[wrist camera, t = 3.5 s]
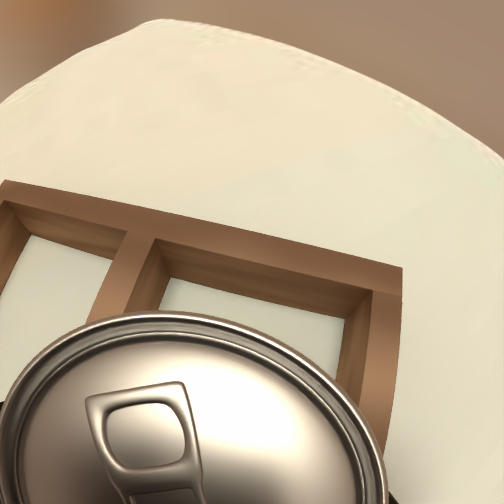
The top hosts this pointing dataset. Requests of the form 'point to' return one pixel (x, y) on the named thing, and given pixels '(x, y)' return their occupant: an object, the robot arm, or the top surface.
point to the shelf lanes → (221, 275)
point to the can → (182, 420)
